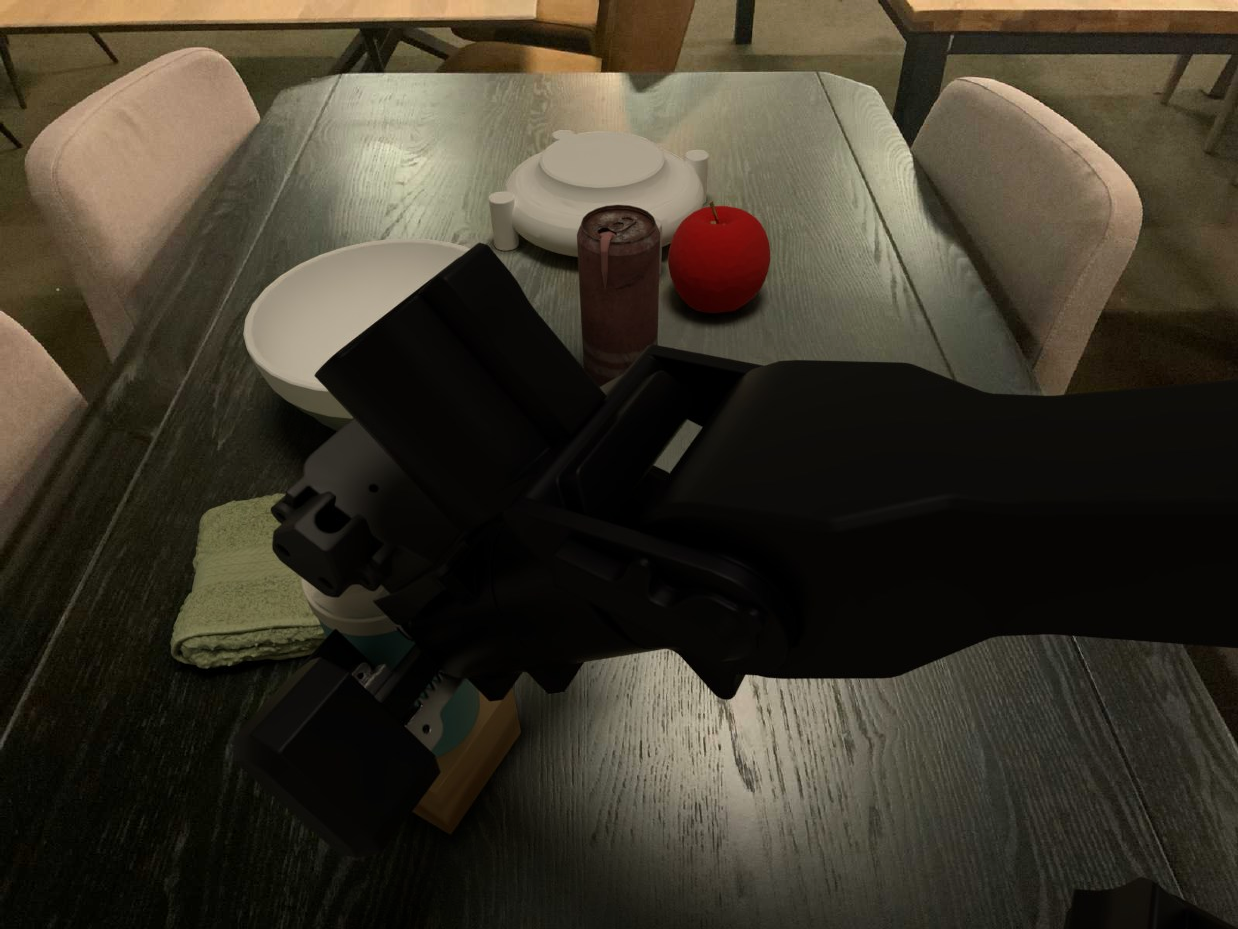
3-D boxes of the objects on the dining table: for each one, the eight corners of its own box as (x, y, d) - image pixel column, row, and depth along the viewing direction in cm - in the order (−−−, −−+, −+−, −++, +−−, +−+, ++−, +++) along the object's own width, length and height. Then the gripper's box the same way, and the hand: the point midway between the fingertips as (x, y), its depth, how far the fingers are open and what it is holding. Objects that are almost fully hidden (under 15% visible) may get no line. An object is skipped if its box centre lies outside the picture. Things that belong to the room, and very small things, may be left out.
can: (577, 394, 70) (567, 241, 60) (591, 348, 74) (585, 198, 64) (650, 402, 69) (653, 248, 59) (660, 354, 74) (665, 203, 64)
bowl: (542, 336, 76) (533, 240, 69) (507, 497, 62) (492, 396, 55) (325, 330, 77) (296, 234, 70) (243, 487, 63) (197, 386, 56)
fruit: (691, 264, 84) (696, 166, 77) (778, 287, 81) (792, 187, 74) (649, 312, 78) (650, 211, 71) (741, 339, 75) (752, 236, 68)
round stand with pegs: (536, 308, 79) (529, 238, 74) (460, 196, 94) (451, 132, 89) (761, 250, 86) (769, 182, 81) (656, 154, 101) (657, 92, 96)
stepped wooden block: (526, 725, 49) (510, 636, 43) (445, 844, 44) (413, 763, 38) (418, 668, 52) (388, 576, 45) (331, 774, 47) (284, 688, 41)
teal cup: (505, 695, 45) (475, 548, 36) (425, 787, 41) (371, 647, 33) (422, 640, 47) (376, 490, 39) (340, 722, 44) (270, 577, 35)
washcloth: (471, 639, 53) (464, 608, 51) (175, 684, 51) (154, 653, 49) (463, 489, 62) (456, 457, 60) (211, 522, 60) (195, 490, 58)
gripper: (556, 260, 33) (390, 394, 44) (159, 613, 21) (75, 668, 33) (729, 474, 36) (529, 547, 47) (460, 888, 24) (284, 850, 36)
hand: (380, 633), depth 41 cm, fingers closed on teal cup, 6 cm apart
